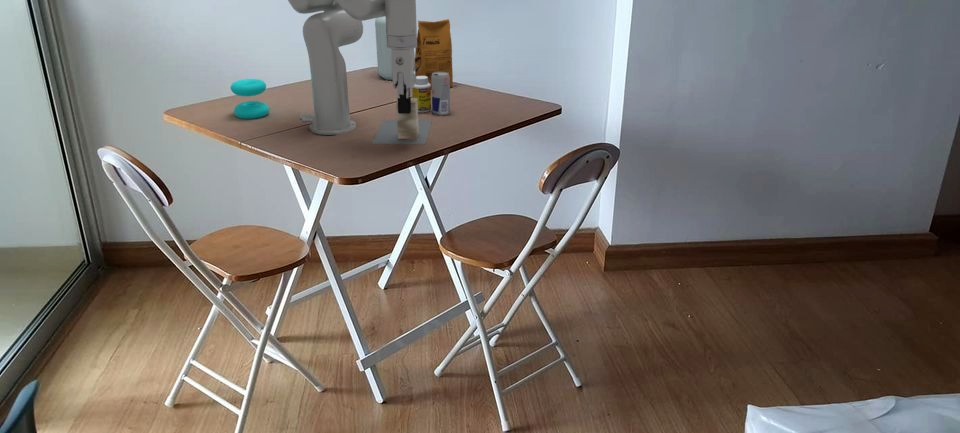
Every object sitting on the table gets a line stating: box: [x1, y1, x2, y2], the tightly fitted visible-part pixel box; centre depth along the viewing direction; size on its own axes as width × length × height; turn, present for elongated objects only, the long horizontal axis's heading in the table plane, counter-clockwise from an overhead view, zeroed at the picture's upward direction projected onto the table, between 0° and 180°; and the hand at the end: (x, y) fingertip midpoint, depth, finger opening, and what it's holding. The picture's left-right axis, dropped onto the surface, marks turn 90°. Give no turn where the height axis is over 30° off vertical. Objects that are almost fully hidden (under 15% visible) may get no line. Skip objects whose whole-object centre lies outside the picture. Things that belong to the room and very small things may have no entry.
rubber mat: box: [371, 119, 433, 145], centre depth 203 cm, size 14×22×1 cm, turn 178°
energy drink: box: [431, 72, 451, 117], centre depth 217 cm, size 5×5×12 cm
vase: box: [374, 16, 393, 81], centre depth 257 cm, size 12×12×22 cm
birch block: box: [395, 97, 419, 140], centre depth 196 cm, size 5×5×10 cm
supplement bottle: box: [411, 76, 432, 114], centre depth 221 cm, size 6×6×10 cm
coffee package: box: [414, 18, 454, 89], centre depth 245 cm, size 10×12×22 cm
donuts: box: [230, 78, 270, 120], centre depth 216 cm, size 10×10×10 cm
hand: (404, 112), depth 190 cm, fingers closed
